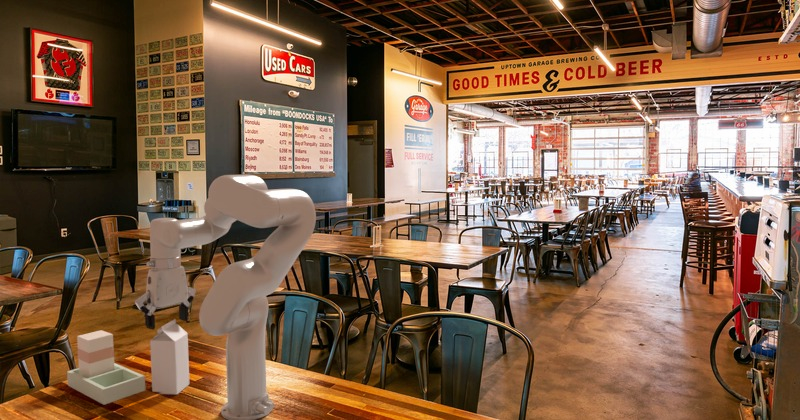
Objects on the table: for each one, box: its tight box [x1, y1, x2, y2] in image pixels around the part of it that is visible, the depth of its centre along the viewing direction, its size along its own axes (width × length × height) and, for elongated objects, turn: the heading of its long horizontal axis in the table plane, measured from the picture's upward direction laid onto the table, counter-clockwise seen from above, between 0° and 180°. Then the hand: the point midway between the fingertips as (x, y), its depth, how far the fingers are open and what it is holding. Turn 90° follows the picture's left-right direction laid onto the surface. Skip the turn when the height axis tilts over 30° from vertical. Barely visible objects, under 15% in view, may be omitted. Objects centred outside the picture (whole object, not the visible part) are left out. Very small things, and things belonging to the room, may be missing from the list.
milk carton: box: [149, 318, 190, 395], centre depth 149 cm, size 7×7×19 cm
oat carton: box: [76, 329, 115, 379], centre depth 151 cm, size 7×7×14 cm
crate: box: [66, 362, 146, 406], centre depth 148 cm, size 21×11×5 cm, turn 54°
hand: (167, 324), depth 148 cm, fingers open, 9 cm apart
